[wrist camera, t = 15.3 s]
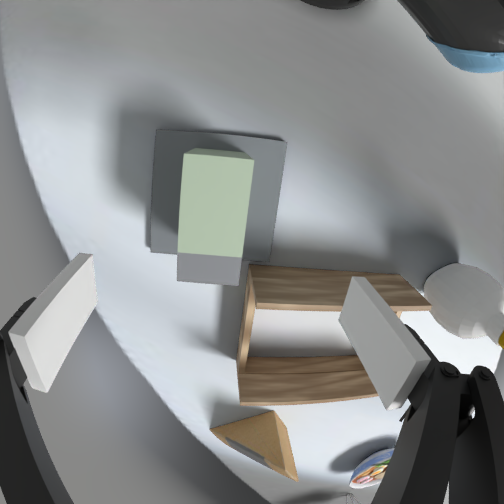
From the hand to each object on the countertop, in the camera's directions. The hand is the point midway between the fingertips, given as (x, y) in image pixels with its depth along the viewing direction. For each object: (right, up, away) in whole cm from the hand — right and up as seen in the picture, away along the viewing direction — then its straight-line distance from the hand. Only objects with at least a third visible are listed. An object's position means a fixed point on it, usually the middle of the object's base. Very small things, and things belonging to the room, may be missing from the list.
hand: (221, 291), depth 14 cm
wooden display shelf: (+12, -9, +32) cm, 36 cm away
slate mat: (-3, +9, +23) cm, 25 cm away
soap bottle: (+36, -2, +32) cm, 48 cm away
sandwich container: (0, -37, +43) cm, 56 cm away
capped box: (-3, +9, +22) cm, 24 cm away
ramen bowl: (+41, -63, +58) cm, 95 cm away
